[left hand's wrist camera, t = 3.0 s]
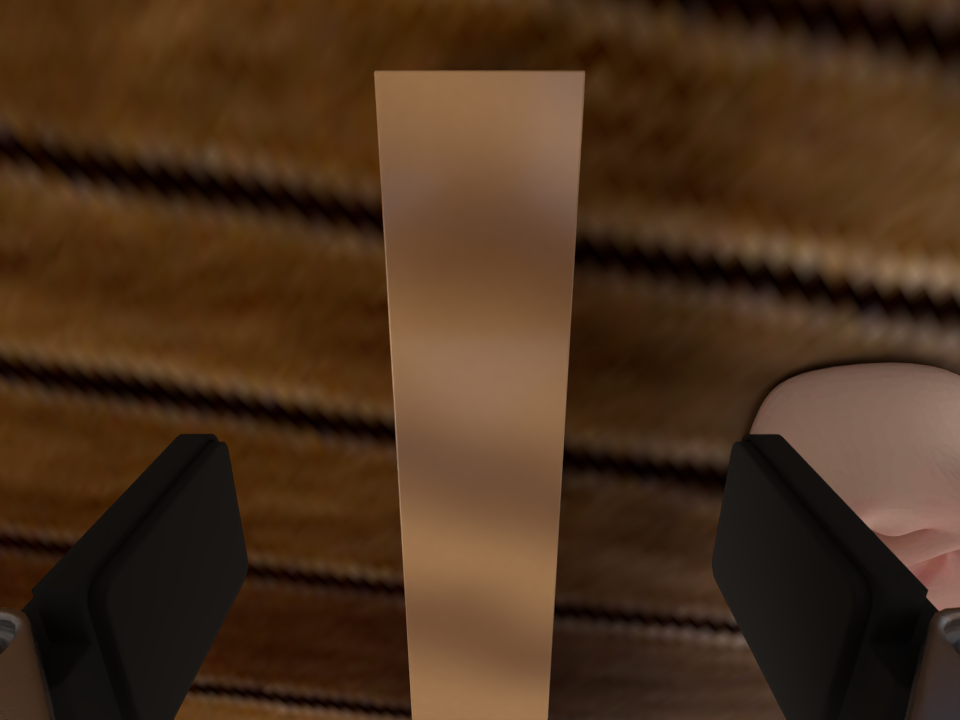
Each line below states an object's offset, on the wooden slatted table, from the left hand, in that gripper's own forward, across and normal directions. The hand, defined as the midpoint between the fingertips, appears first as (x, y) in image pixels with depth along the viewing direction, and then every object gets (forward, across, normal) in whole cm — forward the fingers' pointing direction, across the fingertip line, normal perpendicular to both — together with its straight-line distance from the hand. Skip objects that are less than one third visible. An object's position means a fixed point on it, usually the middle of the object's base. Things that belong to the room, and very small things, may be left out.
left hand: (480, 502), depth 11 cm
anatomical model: (+13, +17, -8) cm, 23 cm away
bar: (+13, 0, -29) cm, 32 cm away
